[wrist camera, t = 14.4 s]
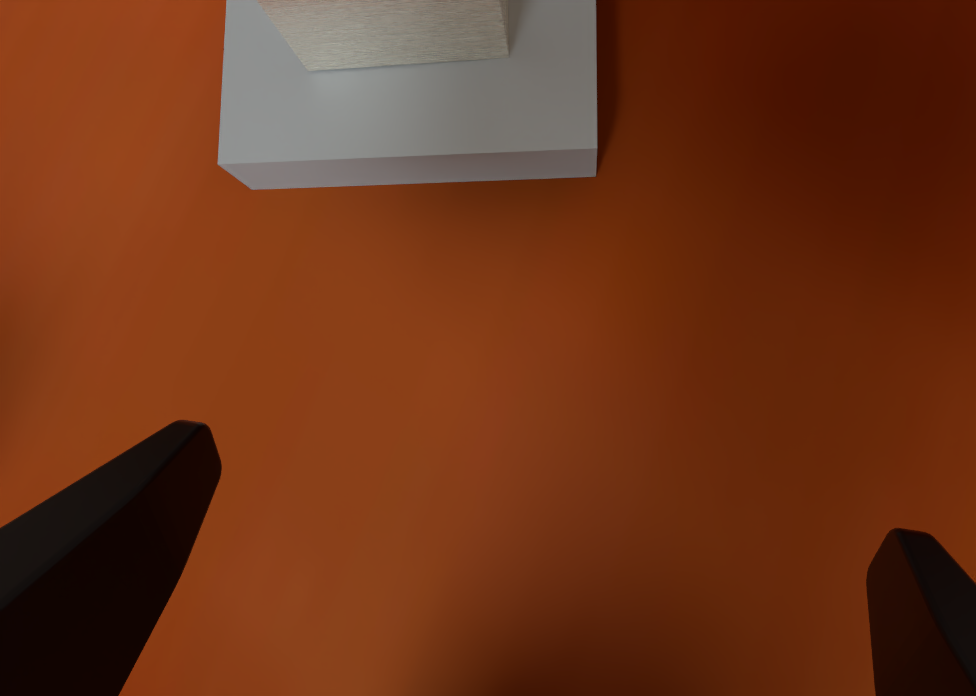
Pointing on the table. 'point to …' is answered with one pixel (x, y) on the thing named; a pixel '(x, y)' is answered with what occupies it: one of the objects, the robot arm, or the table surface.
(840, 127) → the table surface
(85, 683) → the robot arm
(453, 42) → the cream block
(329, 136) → the grey block
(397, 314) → the table surface
